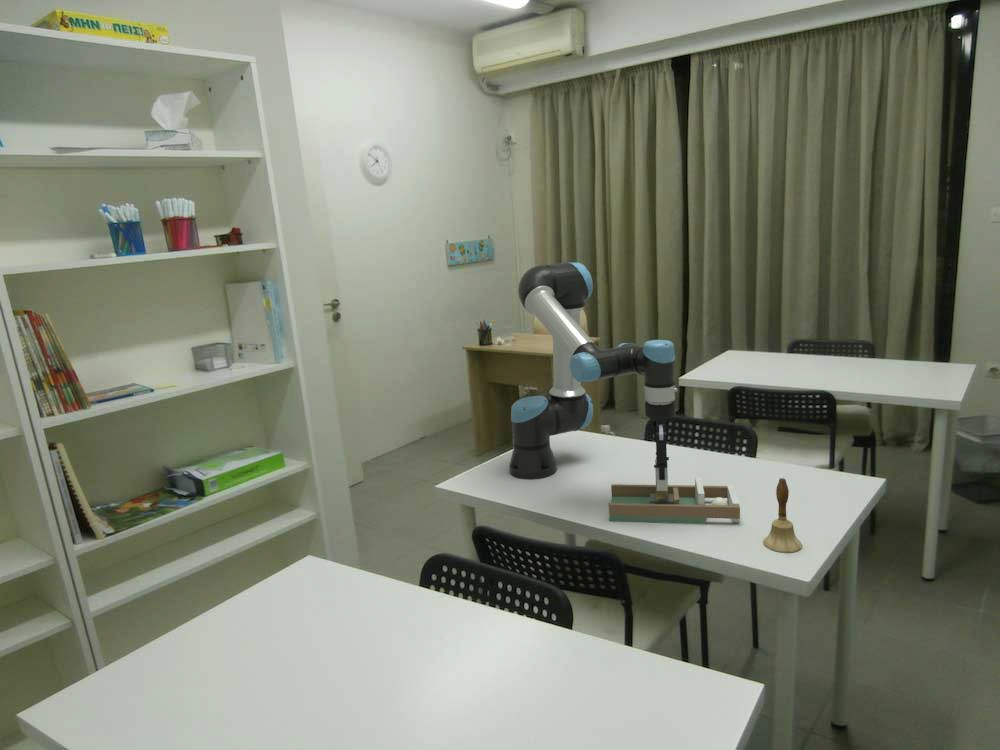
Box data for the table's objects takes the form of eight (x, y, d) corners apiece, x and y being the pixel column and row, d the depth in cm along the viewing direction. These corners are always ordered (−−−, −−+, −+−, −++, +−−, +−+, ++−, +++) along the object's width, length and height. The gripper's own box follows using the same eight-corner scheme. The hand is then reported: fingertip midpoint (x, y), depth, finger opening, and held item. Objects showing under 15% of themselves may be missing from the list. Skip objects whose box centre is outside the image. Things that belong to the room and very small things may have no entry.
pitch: (609, 521, 169) (608, 493, 168) (612, 499, 183) (611, 474, 181) (739, 524, 162) (739, 496, 161) (732, 501, 175) (732, 475, 174)
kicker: (650, 510, 169) (649, 466, 167) (650, 498, 177) (649, 456, 175) (679, 511, 168) (678, 467, 165) (677, 498, 175) (677, 456, 173)
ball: (713, 500, 167) (729, 502, 166) (711, 494, 171) (727, 495, 170) (711, 514, 168) (727, 516, 167) (710, 508, 172) (725, 510, 171)
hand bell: (760, 549, 149) (761, 483, 146) (765, 534, 156) (766, 471, 153) (800, 555, 145) (802, 488, 142) (803, 539, 152) (805, 474, 149)
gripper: (676, 409, 158) (678, 500, 163) (674, 393, 174) (675, 476, 178) (644, 409, 160) (647, 499, 165) (645, 393, 175) (647, 476, 180)
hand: (662, 487), depth 172 cm, fingers closed on kicker, 3 cm apart
